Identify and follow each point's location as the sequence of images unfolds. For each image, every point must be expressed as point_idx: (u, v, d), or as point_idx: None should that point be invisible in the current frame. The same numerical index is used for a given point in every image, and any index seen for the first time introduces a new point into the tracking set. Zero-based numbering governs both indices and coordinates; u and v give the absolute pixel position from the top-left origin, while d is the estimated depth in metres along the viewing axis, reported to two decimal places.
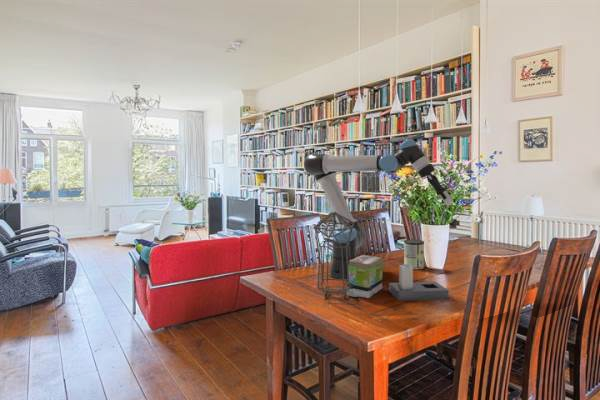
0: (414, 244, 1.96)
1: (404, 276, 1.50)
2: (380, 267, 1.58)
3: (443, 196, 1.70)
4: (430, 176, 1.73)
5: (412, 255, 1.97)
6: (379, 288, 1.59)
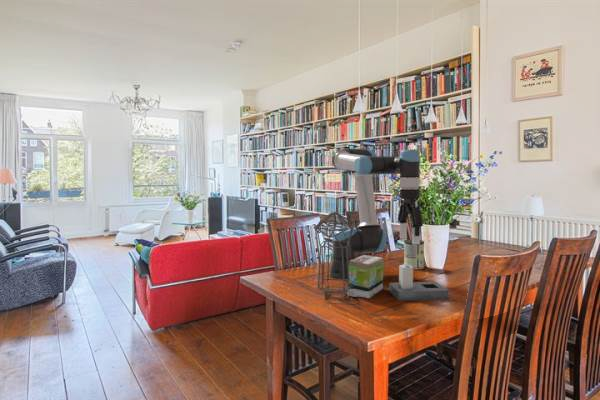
0: (414, 244, 1.96)
1: (404, 276, 1.50)
2: (380, 267, 1.58)
3: (417, 232, 1.43)
4: (417, 203, 1.44)
5: (412, 255, 1.97)
6: (380, 288, 1.59)
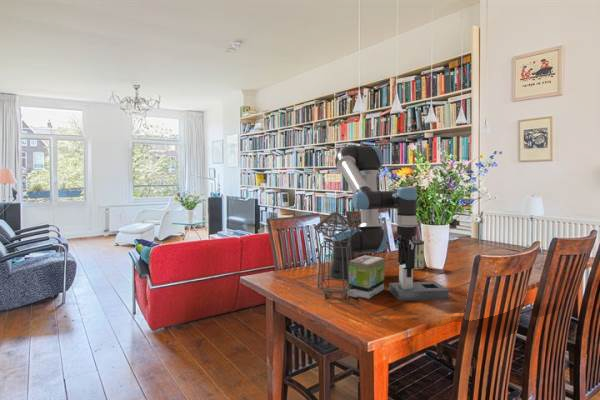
0: None
1: (404, 276, 1.50)
2: (381, 268, 1.57)
3: (409, 273, 1.48)
4: (413, 247, 1.45)
5: None
6: (381, 289, 1.58)
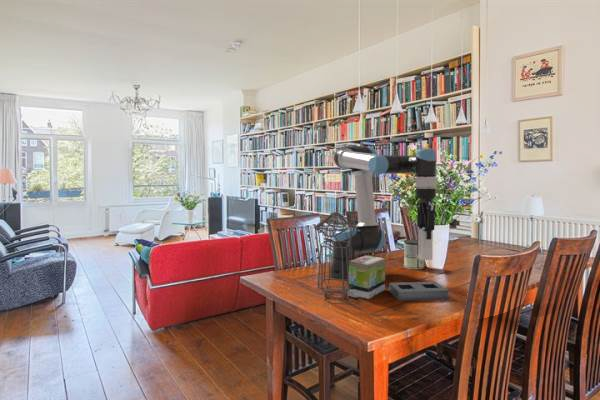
0: (414, 244, 1.96)
1: (423, 238, 1.49)
2: (382, 268, 1.56)
3: (429, 235, 1.47)
4: (433, 208, 1.44)
5: (412, 255, 1.97)
6: (381, 289, 1.58)
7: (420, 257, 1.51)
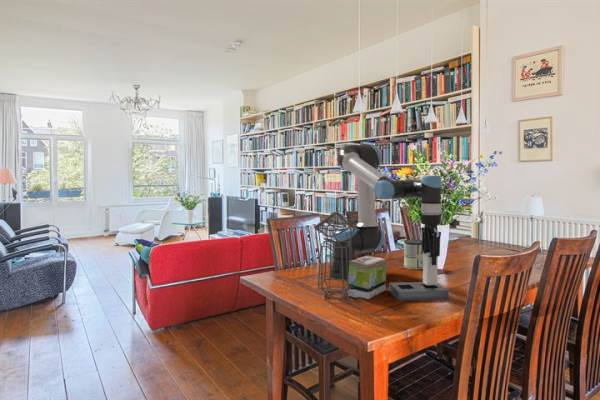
0: (414, 244, 1.96)
1: (428, 264, 1.50)
2: (382, 268, 1.56)
3: (434, 261, 1.48)
4: (438, 234, 1.45)
5: (412, 255, 1.97)
6: (382, 289, 1.57)
7: (425, 282, 1.52)
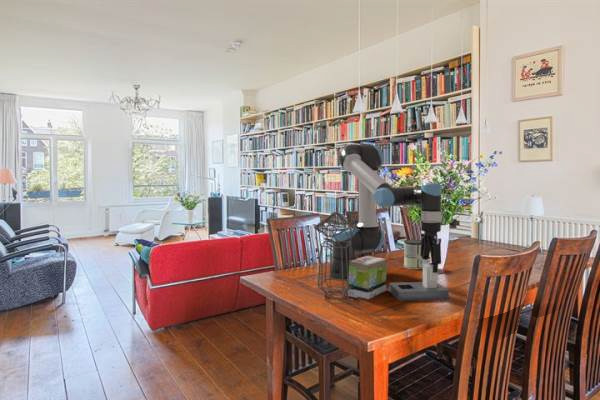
0: (414, 244, 1.96)
1: (428, 275, 1.51)
2: (382, 268, 1.56)
3: (435, 269, 1.47)
4: (439, 241, 1.45)
5: (412, 255, 1.97)
6: (382, 290, 1.57)
7: None
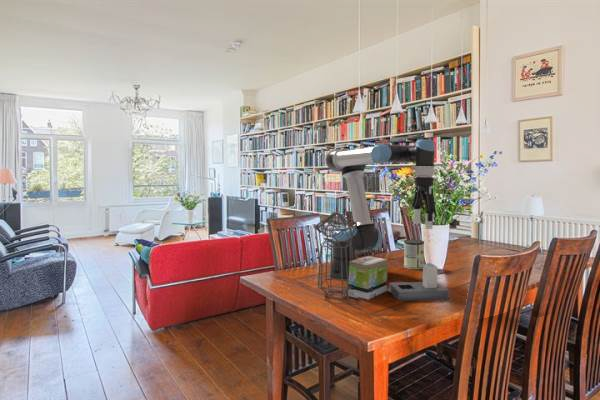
0: (414, 244, 1.96)
1: (428, 275, 1.51)
2: (383, 269, 1.55)
3: (430, 217, 1.52)
4: (431, 191, 1.53)
5: (412, 255, 1.97)
6: (383, 290, 1.56)
7: None
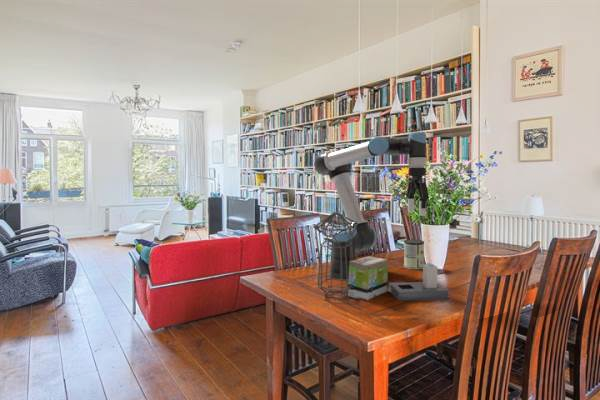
0: (414, 244, 1.96)
1: (428, 275, 1.51)
2: (383, 269, 1.54)
3: (424, 205, 1.63)
4: (424, 180, 1.63)
5: (412, 255, 1.97)
6: (383, 291, 1.56)
7: None
